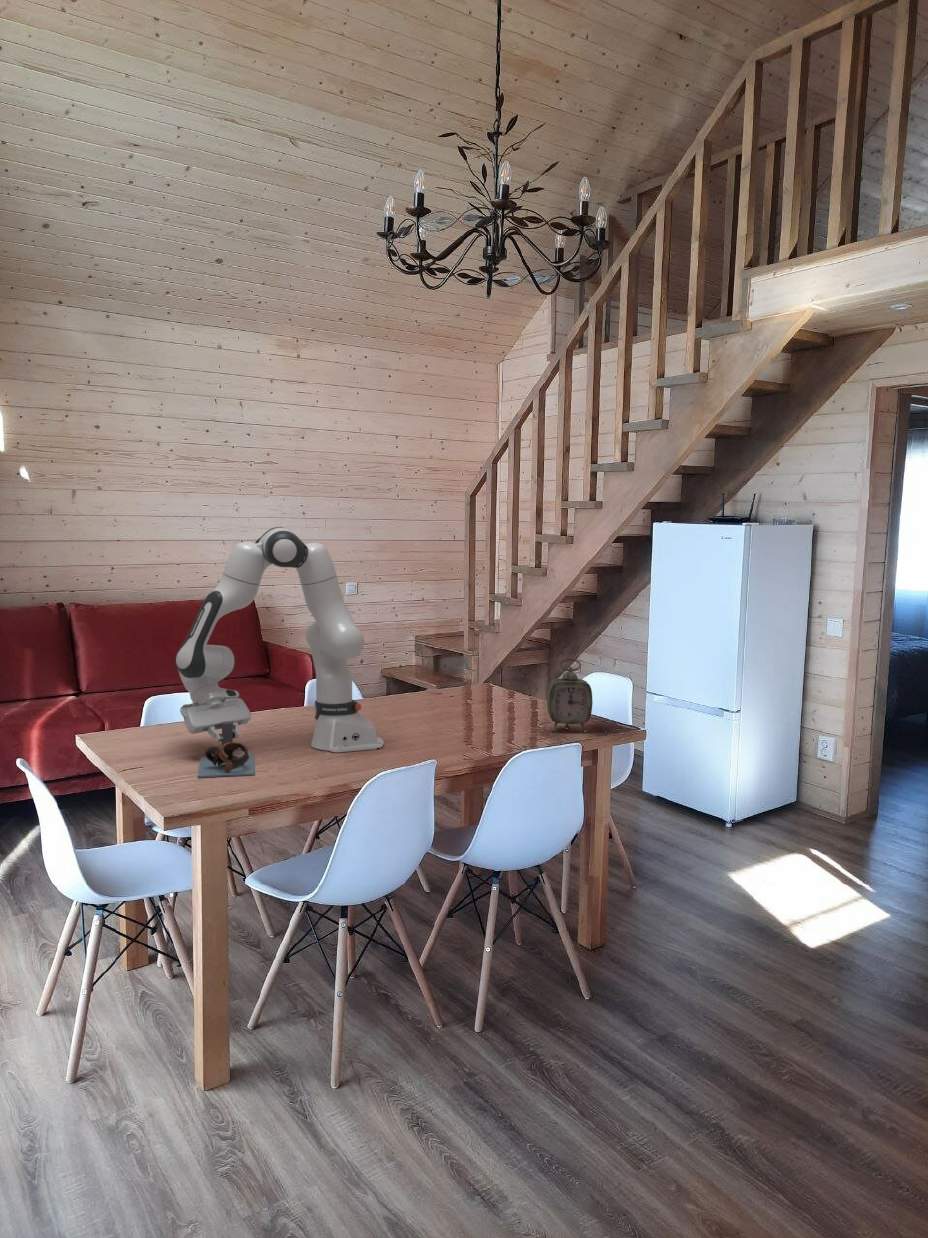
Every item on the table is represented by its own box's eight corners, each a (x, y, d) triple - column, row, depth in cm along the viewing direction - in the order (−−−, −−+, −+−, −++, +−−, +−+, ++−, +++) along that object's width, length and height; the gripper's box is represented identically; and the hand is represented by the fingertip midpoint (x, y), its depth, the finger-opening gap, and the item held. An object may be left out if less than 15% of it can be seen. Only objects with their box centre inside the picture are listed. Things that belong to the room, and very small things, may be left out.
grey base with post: (253, 755, 266) (253, 720, 265) (254, 775, 246) (254, 737, 245) (201, 757, 263) (200, 722, 261) (197, 777, 242) (197, 739, 241)
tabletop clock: (548, 734, 301) (550, 660, 299) (545, 727, 310) (547, 656, 308) (591, 734, 302) (594, 660, 299) (586, 728, 311) (589, 656, 308)
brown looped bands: (247, 763, 257) (253, 742, 253) (241, 786, 249) (247, 765, 245) (205, 754, 255) (210, 732, 250) (197, 777, 247) (203, 755, 242)
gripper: (181, 699, 258) (201, 738, 252) (242, 690, 273) (261, 727, 268) (173, 712, 261) (192, 751, 256) (233, 702, 276) (252, 739, 271)
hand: (228, 738), depth 262 cm, fingers closed on grey base with post, 4 cm apart
